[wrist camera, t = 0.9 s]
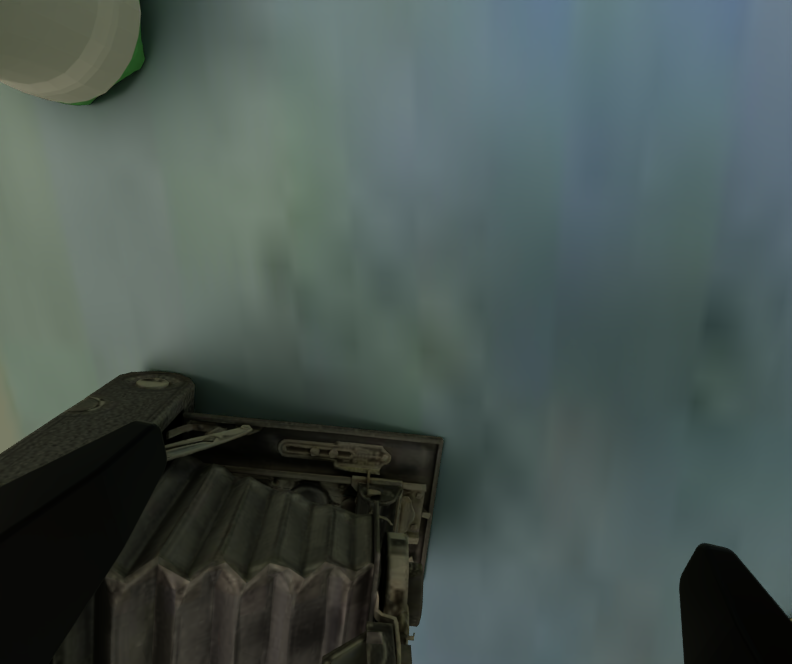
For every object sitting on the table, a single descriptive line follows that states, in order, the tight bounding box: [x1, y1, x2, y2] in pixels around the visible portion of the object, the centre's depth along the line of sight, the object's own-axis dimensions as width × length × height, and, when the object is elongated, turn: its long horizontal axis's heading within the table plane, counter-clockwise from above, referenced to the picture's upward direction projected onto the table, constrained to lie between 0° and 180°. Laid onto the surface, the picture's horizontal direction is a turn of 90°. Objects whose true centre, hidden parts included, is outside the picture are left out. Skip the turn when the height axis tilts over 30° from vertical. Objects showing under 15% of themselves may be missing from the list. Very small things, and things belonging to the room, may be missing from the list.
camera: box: [0, 371, 444, 664], centre depth 20 cm, size 11×17×20 cm, turn 81°
